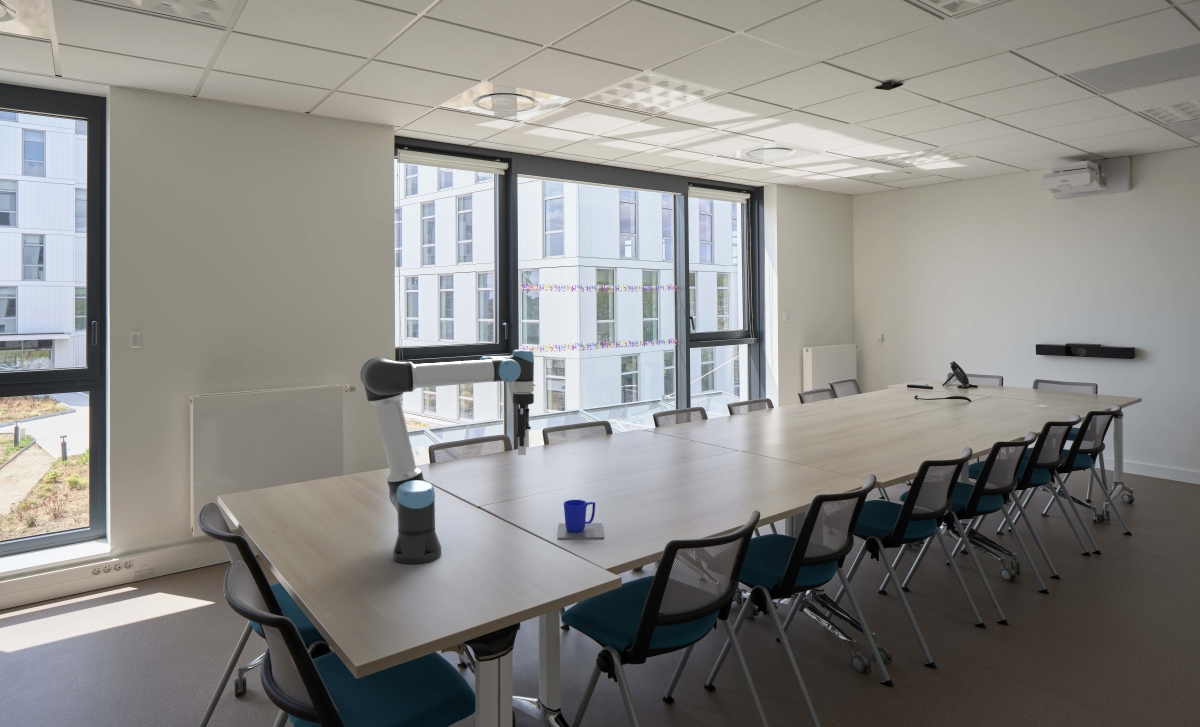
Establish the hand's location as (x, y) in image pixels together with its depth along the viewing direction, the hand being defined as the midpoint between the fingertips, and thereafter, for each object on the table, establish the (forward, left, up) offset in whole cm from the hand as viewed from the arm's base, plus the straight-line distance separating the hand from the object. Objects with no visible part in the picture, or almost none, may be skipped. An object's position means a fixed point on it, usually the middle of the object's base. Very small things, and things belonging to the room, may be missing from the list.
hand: (523, 451), depth 253 cm
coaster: (+20, -6, -28) cm, 35 cm away
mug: (+20, -5, -28) cm, 35 cm away
